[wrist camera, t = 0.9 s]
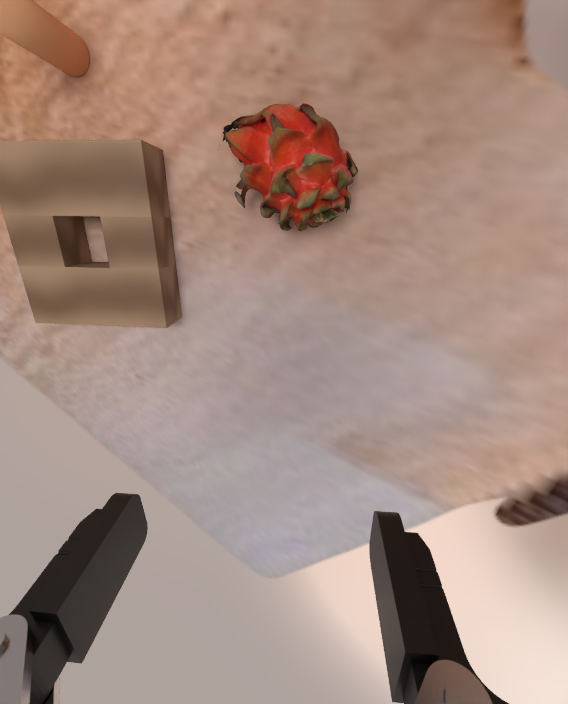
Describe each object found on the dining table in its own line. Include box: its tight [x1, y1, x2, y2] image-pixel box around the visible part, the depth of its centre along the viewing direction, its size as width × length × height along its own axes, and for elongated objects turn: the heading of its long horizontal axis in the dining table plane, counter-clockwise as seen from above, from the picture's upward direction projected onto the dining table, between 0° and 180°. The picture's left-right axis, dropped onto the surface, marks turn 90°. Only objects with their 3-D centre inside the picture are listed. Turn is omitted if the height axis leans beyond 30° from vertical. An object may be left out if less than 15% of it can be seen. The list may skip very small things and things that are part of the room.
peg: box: [0, 0, 90, 77], centre depth 23 cm, size 3×3×10 cm
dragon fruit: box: [222, 104, 358, 231], centre depth 26 cm, size 8×8×12 cm
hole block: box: [0, 140, 182, 328], centre depth 31 cm, size 16×14×4 cm
